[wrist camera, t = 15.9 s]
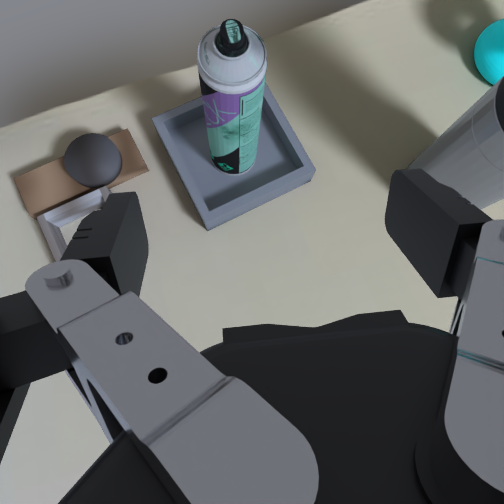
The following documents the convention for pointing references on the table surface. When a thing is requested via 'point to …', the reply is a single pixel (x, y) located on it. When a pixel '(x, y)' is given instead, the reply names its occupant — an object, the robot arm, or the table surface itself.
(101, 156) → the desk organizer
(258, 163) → the tray
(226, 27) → the spray can
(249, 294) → the table surface
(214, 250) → the table surface
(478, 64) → the donuts
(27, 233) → the table surface
